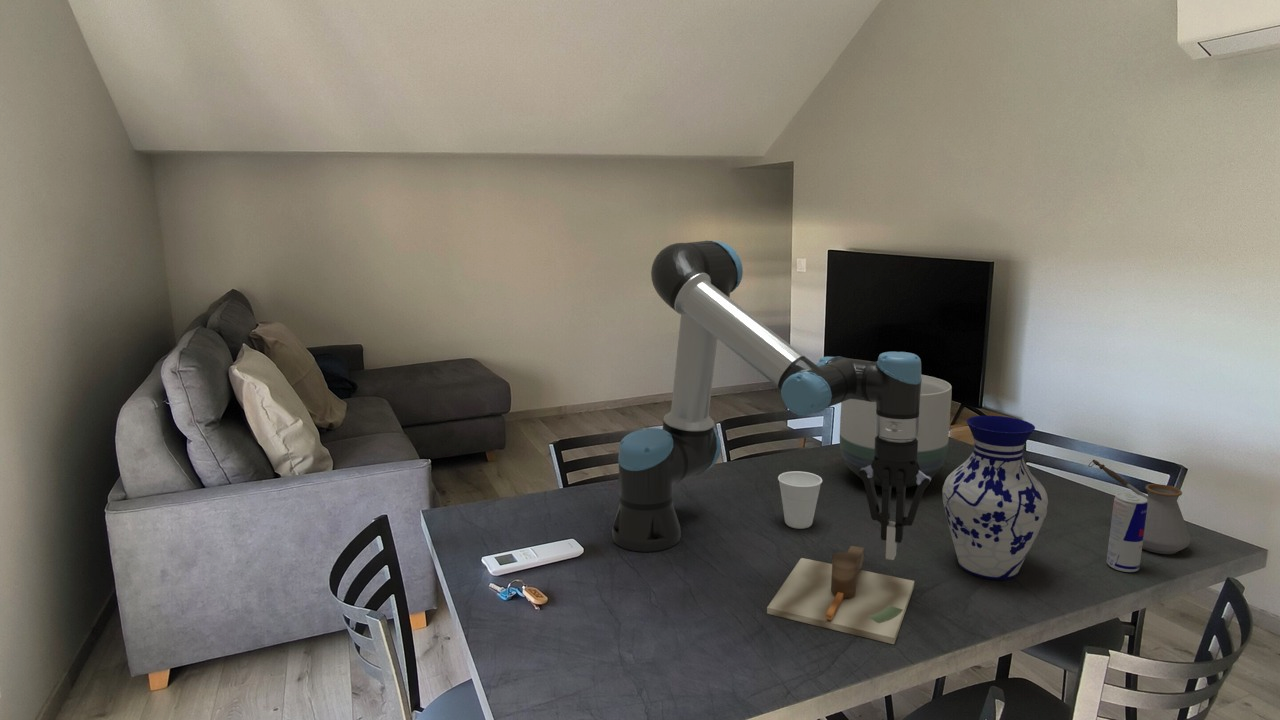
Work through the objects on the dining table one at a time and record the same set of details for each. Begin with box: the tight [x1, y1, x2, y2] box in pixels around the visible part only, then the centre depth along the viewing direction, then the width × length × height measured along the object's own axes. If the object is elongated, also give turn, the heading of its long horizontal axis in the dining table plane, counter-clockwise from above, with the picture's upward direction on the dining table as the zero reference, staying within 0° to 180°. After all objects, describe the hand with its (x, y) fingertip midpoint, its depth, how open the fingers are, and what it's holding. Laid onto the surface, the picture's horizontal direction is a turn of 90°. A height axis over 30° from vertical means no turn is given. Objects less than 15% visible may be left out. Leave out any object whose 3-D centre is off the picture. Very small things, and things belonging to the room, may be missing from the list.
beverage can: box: [1106, 491, 1148, 573], centre depth 152 cm, size 6×6×15 cm
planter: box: [839, 374, 953, 489], centre depth 198 cm, size 27×27×27 cm
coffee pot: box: [1088, 459, 1192, 555], centre depth 165 cm, size 21×12×15 cm, turn 29°
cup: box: [777, 470, 823, 530], centre depth 174 cm, size 10×10×11 cm
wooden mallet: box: [826, 545, 865, 620], centre depth 141 cm, size 22×4×7 cm, turn 152°
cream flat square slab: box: [766, 557, 915, 645], centre depth 141 cm, size 22×22×1 cm
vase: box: [942, 415, 1049, 581], centre depth 151 cm, size 19×19×30 cm
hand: (890, 556), depth 144 cm, fingers closed
